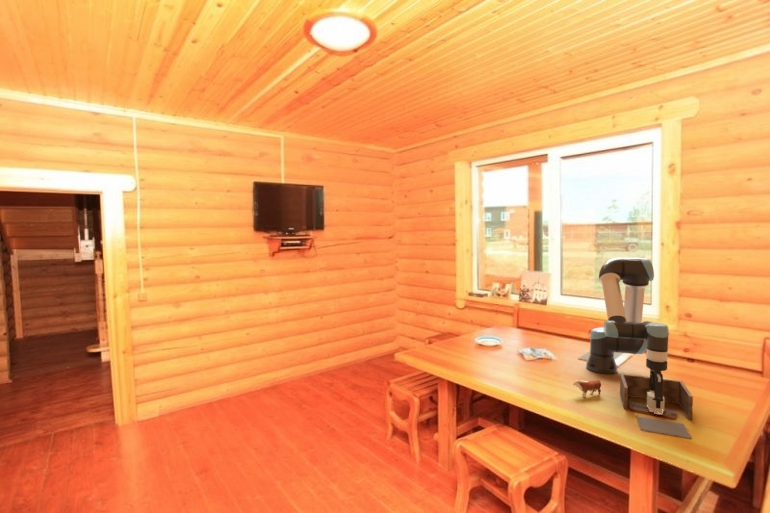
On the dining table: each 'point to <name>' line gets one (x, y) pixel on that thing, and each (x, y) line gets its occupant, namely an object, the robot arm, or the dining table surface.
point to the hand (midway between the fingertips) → (655, 409)
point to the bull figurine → (588, 386)
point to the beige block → (651, 402)
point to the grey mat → (663, 427)
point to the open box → (640, 387)
